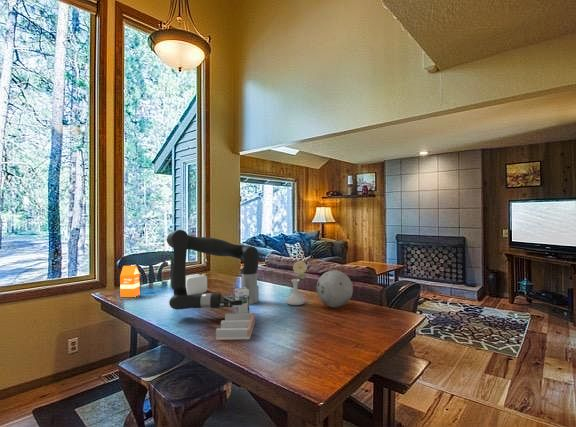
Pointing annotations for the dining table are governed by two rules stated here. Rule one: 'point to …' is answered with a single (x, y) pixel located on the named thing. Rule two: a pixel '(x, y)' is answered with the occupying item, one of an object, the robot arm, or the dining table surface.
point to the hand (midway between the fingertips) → (243, 300)
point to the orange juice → (129, 282)
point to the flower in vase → (296, 297)
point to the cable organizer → (196, 284)
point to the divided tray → (236, 326)
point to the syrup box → (244, 296)
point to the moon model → (334, 288)
